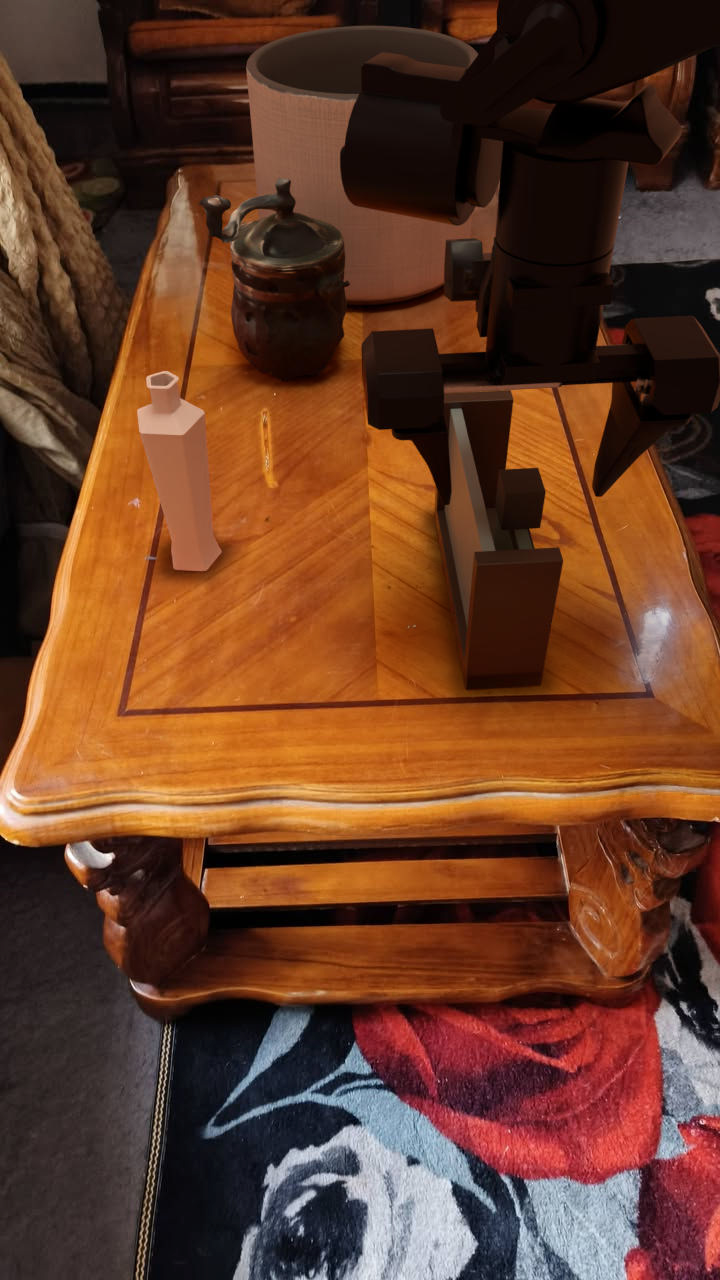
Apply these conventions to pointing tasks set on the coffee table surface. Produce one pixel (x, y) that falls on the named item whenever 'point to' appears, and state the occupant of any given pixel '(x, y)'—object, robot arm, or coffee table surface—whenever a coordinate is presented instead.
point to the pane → (518, 508)
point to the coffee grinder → (283, 283)
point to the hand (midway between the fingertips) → (521, 496)
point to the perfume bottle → (180, 471)
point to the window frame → (491, 554)
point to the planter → (312, 140)
